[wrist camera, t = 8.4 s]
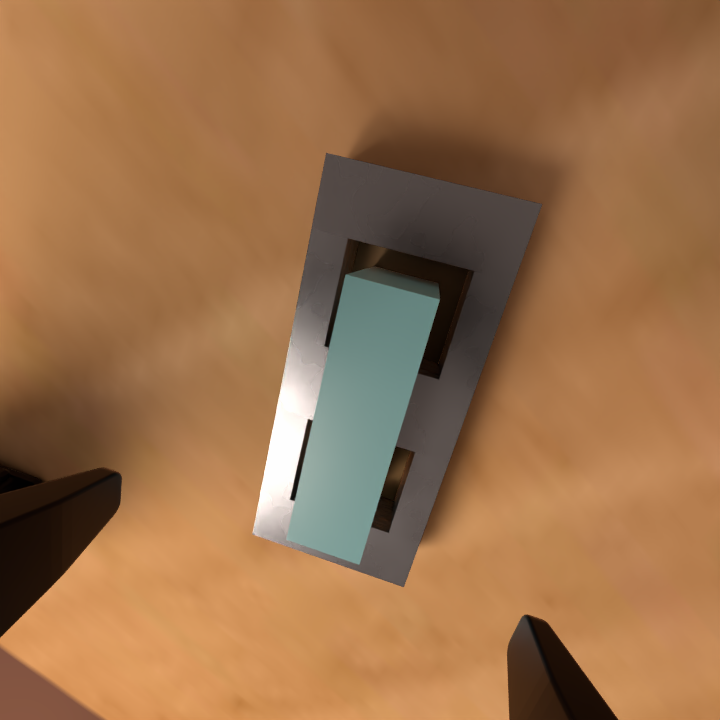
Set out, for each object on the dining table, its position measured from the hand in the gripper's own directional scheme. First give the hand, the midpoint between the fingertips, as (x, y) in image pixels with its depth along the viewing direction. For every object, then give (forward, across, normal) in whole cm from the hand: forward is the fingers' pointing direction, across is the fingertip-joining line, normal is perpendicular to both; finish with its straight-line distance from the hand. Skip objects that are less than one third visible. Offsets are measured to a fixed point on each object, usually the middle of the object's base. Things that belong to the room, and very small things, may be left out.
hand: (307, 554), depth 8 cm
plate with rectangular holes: (+12, 0, 0) cm, 12 cm away
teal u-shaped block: (+12, 0, 0) cm, 12 cm away
